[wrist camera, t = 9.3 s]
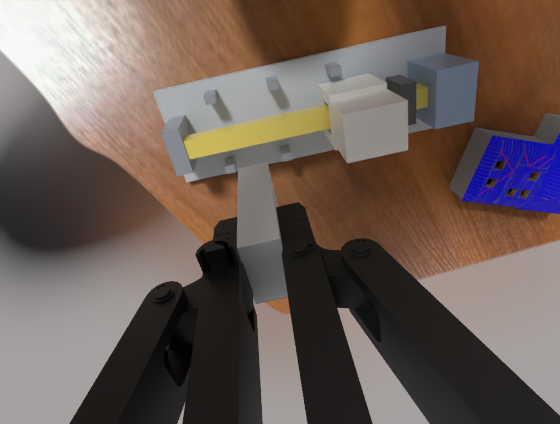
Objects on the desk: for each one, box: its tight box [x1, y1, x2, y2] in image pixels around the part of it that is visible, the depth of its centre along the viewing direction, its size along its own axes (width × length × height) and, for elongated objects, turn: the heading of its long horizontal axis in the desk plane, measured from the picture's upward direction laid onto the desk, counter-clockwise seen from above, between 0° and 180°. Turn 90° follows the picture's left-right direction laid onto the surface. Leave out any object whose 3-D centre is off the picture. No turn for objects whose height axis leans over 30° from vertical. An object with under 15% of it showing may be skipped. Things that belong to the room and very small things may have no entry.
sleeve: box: [318, 73, 408, 163], centre depth 31 cm, size 5×5×9 cm
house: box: [448, 113, 560, 214], centre depth 41 cm, size 11×15×5 cm
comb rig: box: [153, 25, 479, 182], centre depth 34 cm, size 29×10×7 cm, turn 101°
